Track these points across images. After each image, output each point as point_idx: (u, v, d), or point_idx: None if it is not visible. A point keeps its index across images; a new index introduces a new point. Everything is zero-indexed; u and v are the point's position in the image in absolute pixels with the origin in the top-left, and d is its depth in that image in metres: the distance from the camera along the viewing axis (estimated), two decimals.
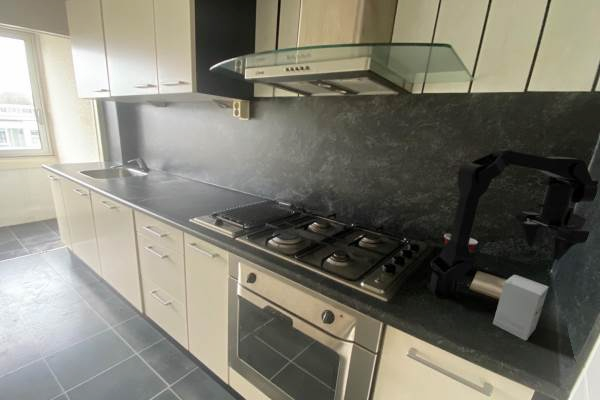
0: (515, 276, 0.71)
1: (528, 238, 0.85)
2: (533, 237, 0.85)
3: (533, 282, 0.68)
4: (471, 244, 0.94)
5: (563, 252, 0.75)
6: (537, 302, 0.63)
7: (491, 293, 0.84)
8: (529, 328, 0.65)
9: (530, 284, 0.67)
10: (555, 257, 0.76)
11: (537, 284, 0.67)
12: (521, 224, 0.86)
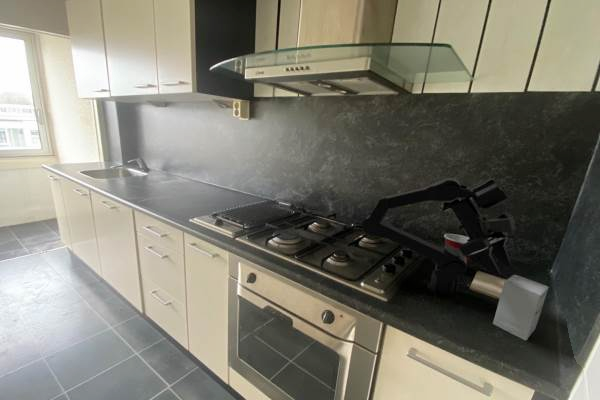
0: (515, 276, 0.71)
1: (499, 258, 0.76)
2: (504, 255, 0.75)
3: (533, 282, 0.68)
4: None
5: (492, 266, 0.68)
6: (537, 302, 0.63)
7: (491, 293, 0.84)
8: (529, 328, 0.65)
9: (530, 284, 0.67)
10: (492, 273, 0.69)
11: (537, 284, 0.67)
12: None
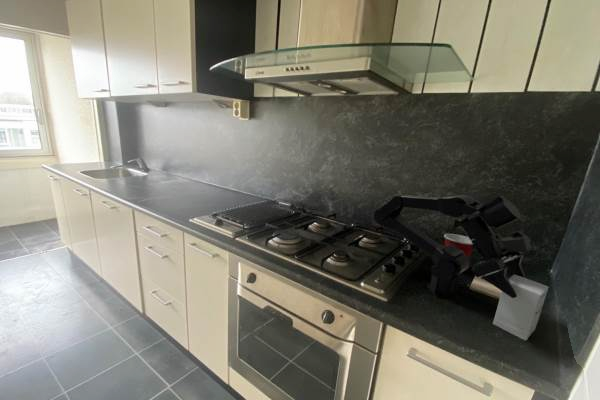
0: (515, 276, 0.71)
1: None
2: (520, 275, 0.72)
3: (533, 282, 0.68)
4: (471, 244, 0.94)
5: (507, 288, 0.66)
6: (537, 302, 0.63)
7: (491, 293, 0.84)
8: (529, 328, 0.65)
9: (530, 284, 0.67)
10: (508, 295, 0.66)
11: (537, 284, 0.67)
12: None
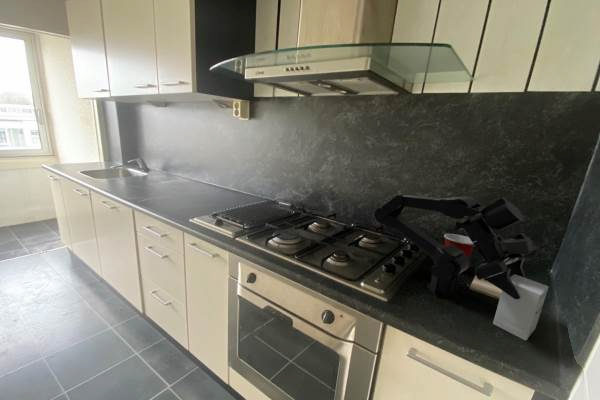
0: (515, 276, 0.71)
1: None
2: None
3: (533, 282, 0.68)
4: (471, 244, 0.94)
5: (511, 289, 0.66)
6: (537, 302, 0.63)
7: (491, 293, 0.84)
8: (529, 328, 0.65)
9: (530, 284, 0.67)
10: (511, 296, 0.67)
11: (537, 284, 0.67)
12: None
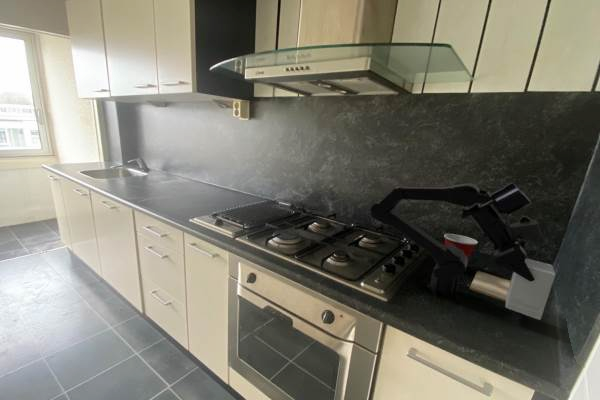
0: None
1: None
2: None
3: (539, 262, 0.71)
4: (471, 244, 0.94)
5: (526, 272, 0.67)
6: (551, 282, 0.65)
7: (491, 293, 0.84)
8: (543, 307, 0.67)
9: (538, 264, 0.69)
10: None
11: (544, 264, 0.70)
12: None
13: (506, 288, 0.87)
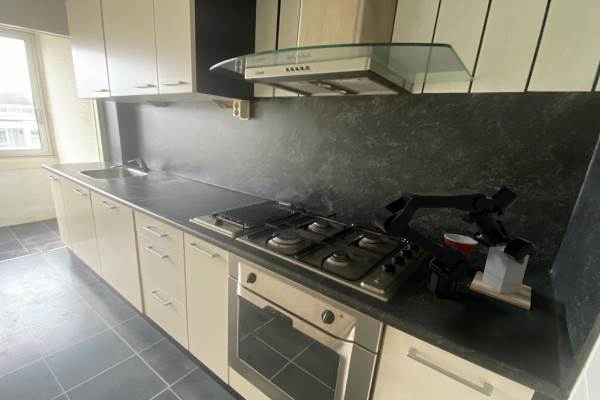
0: (495, 248, 0.87)
1: (489, 247, 0.89)
2: None
3: (504, 247, 0.87)
4: (471, 244, 0.94)
5: (522, 258, 0.79)
6: (527, 261, 0.83)
7: (491, 293, 0.84)
8: (521, 282, 0.84)
9: None
10: None
11: None
12: (476, 241, 0.90)
13: None
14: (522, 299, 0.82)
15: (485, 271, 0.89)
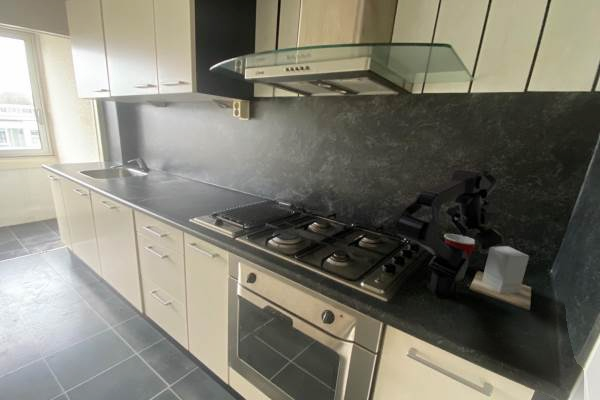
0: (495, 248, 0.87)
1: (461, 231, 0.92)
2: (465, 228, 0.92)
3: (504, 247, 0.87)
4: (471, 244, 0.94)
5: (486, 248, 0.83)
6: (527, 261, 0.83)
7: (491, 293, 0.84)
8: (521, 282, 0.84)
9: (509, 250, 0.86)
10: (481, 252, 0.85)
11: (508, 248, 0.87)
12: (451, 221, 0.92)
13: None
14: (522, 299, 0.82)
15: (485, 271, 0.89)
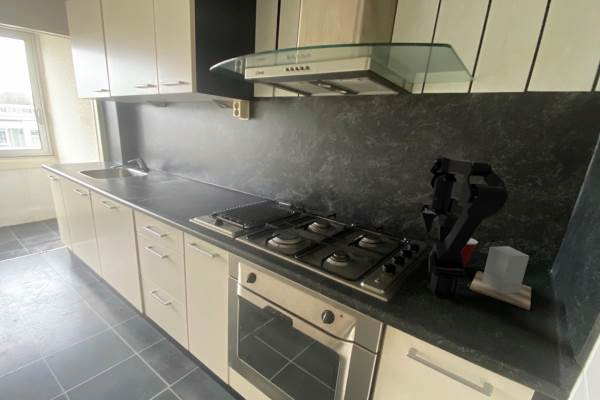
0: (495, 248, 0.87)
1: (426, 225, 0.98)
2: (430, 224, 0.98)
3: (504, 247, 0.87)
4: (471, 244, 0.94)
5: (445, 236, 0.88)
6: (527, 261, 0.83)
7: (491, 293, 0.84)
8: (521, 282, 0.84)
9: (509, 250, 0.86)
10: None
11: (508, 248, 0.87)
12: (421, 213, 0.98)
13: None
14: (522, 299, 0.82)
15: (485, 271, 0.89)
